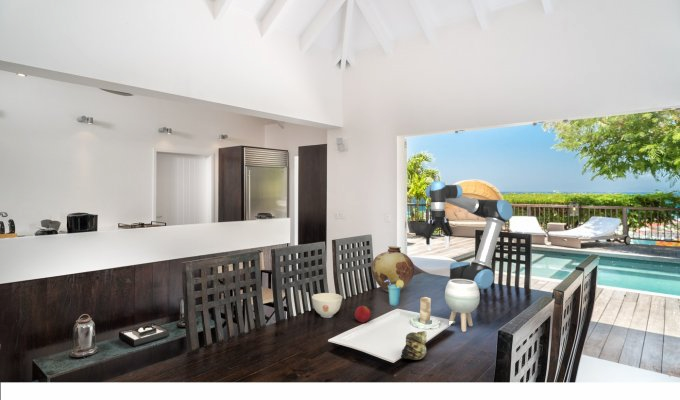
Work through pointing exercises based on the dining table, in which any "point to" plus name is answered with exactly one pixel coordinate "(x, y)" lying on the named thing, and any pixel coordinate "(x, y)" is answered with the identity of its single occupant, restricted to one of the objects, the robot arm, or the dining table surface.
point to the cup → (394, 292)
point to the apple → (362, 314)
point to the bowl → (327, 303)
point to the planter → (462, 299)
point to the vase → (392, 268)
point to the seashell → (415, 346)
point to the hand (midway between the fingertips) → (438, 249)
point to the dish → (416, 323)
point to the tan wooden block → (425, 309)
